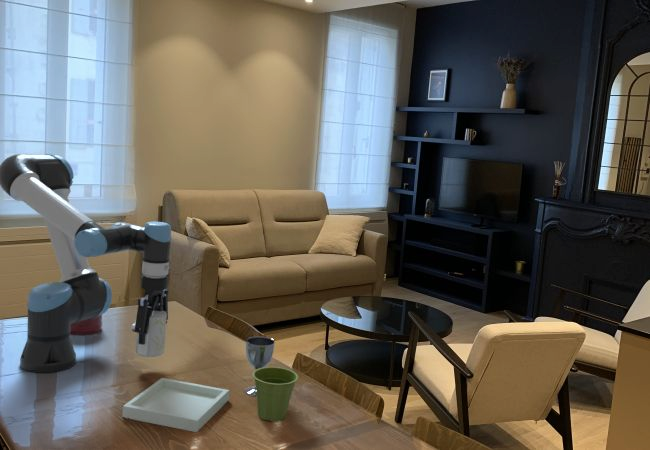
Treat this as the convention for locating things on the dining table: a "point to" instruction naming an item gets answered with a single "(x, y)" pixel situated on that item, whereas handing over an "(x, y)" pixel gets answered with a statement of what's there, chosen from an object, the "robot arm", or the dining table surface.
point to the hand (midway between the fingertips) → (150, 349)
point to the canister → (87, 326)
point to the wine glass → (258, 355)
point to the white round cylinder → (155, 334)
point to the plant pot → (273, 391)
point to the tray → (176, 404)
